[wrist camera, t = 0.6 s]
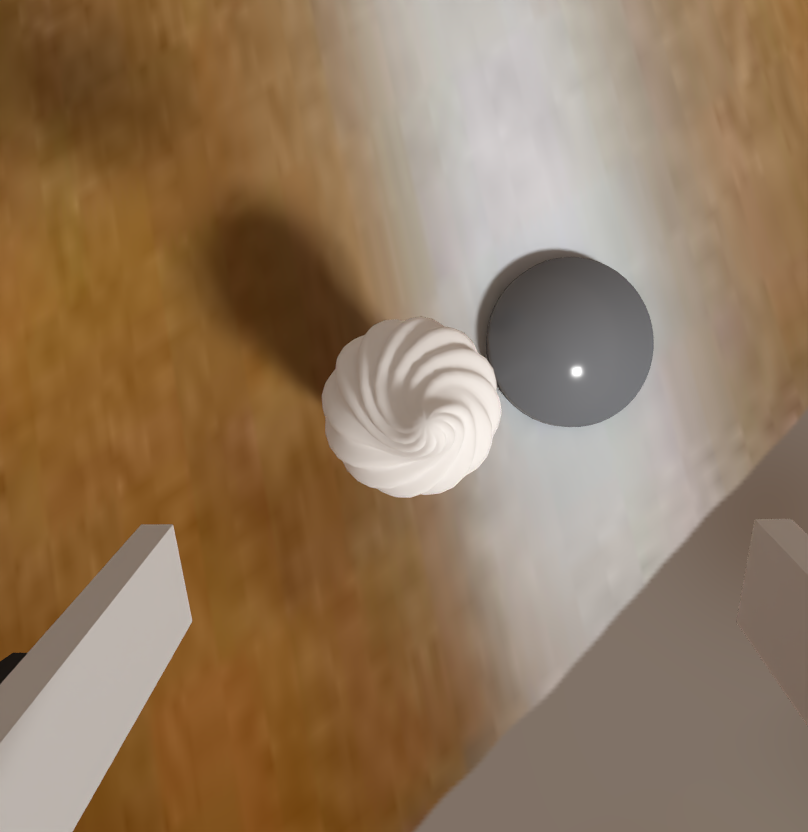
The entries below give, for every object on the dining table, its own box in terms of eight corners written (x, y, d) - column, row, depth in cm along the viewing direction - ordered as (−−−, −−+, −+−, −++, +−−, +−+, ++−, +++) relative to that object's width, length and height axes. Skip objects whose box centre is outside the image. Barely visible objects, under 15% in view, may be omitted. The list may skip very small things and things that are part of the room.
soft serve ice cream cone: (310, 361, 39) (294, 325, 23) (437, 330, 39) (505, 275, 24) (343, 488, 39) (350, 541, 23) (468, 455, 40) (557, 483, 24)
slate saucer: (491, 253, 40) (495, 250, 39) (650, 268, 41) (658, 264, 40) (481, 421, 40) (485, 422, 39) (641, 430, 41) (648, 431, 40)
